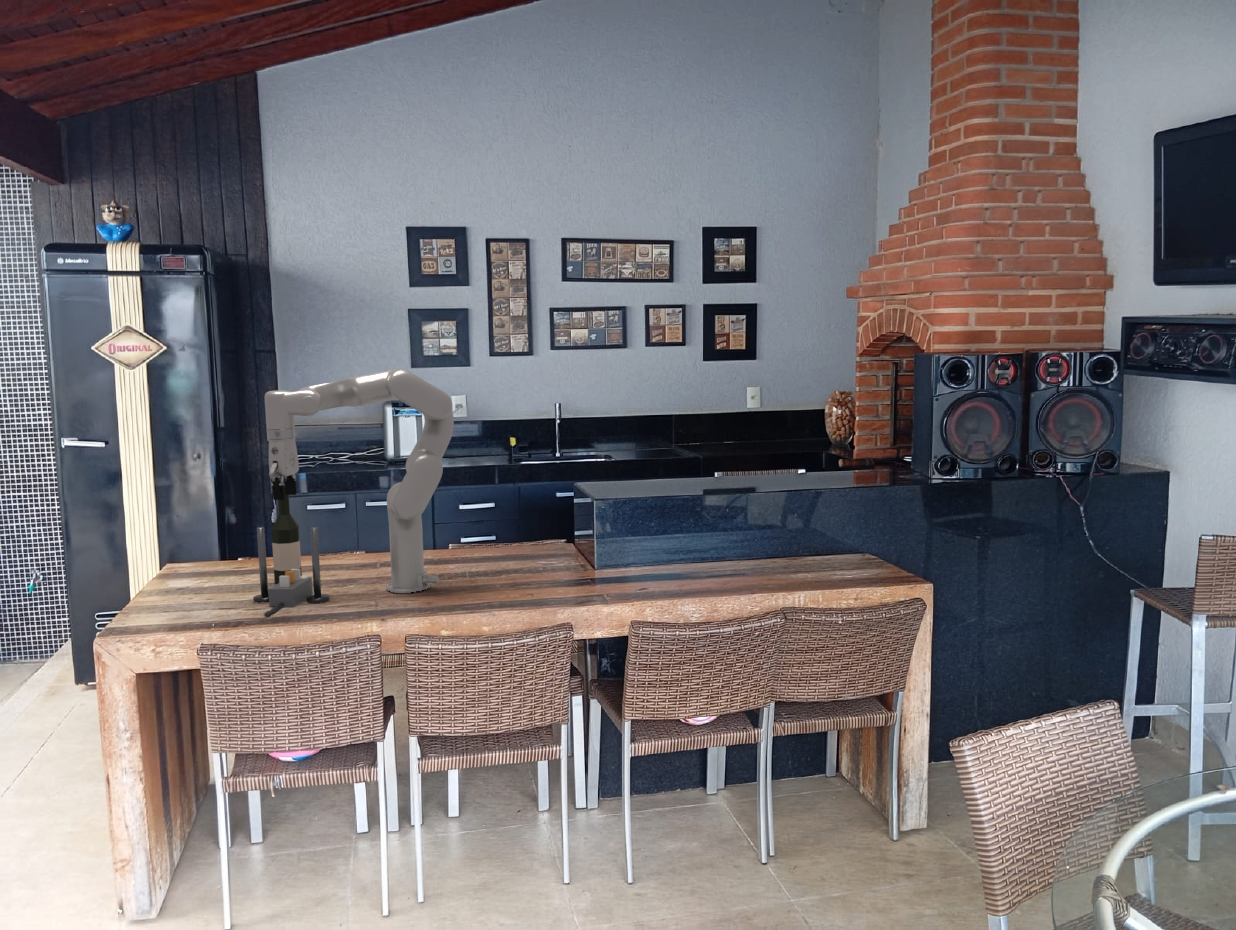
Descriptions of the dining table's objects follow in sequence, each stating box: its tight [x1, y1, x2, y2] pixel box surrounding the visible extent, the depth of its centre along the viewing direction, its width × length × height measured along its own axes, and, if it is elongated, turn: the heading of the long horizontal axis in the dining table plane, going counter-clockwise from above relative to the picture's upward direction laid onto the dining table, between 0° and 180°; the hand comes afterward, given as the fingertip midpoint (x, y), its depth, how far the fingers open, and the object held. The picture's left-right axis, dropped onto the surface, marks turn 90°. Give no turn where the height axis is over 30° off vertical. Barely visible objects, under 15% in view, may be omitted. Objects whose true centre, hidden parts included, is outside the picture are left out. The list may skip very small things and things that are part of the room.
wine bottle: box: [271, 483, 303, 584], centre depth 328 cm, size 8×8×30 cm
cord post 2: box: [305, 526, 331, 604], centre depth 305 cm, size 6×6×21 cm
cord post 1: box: [252, 526, 269, 603], centre depth 306 cm, size 6×6×21 cm
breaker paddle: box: [285, 571, 295, 583], centre depth 306 cm, size 2×1×3 cm, turn 84°
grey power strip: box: [263, 569, 314, 618], centre depth 302 cm, size 7×24×8 cm, turn 174°
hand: (285, 496), depth 303 cm, fingers open, 7 cm apart
